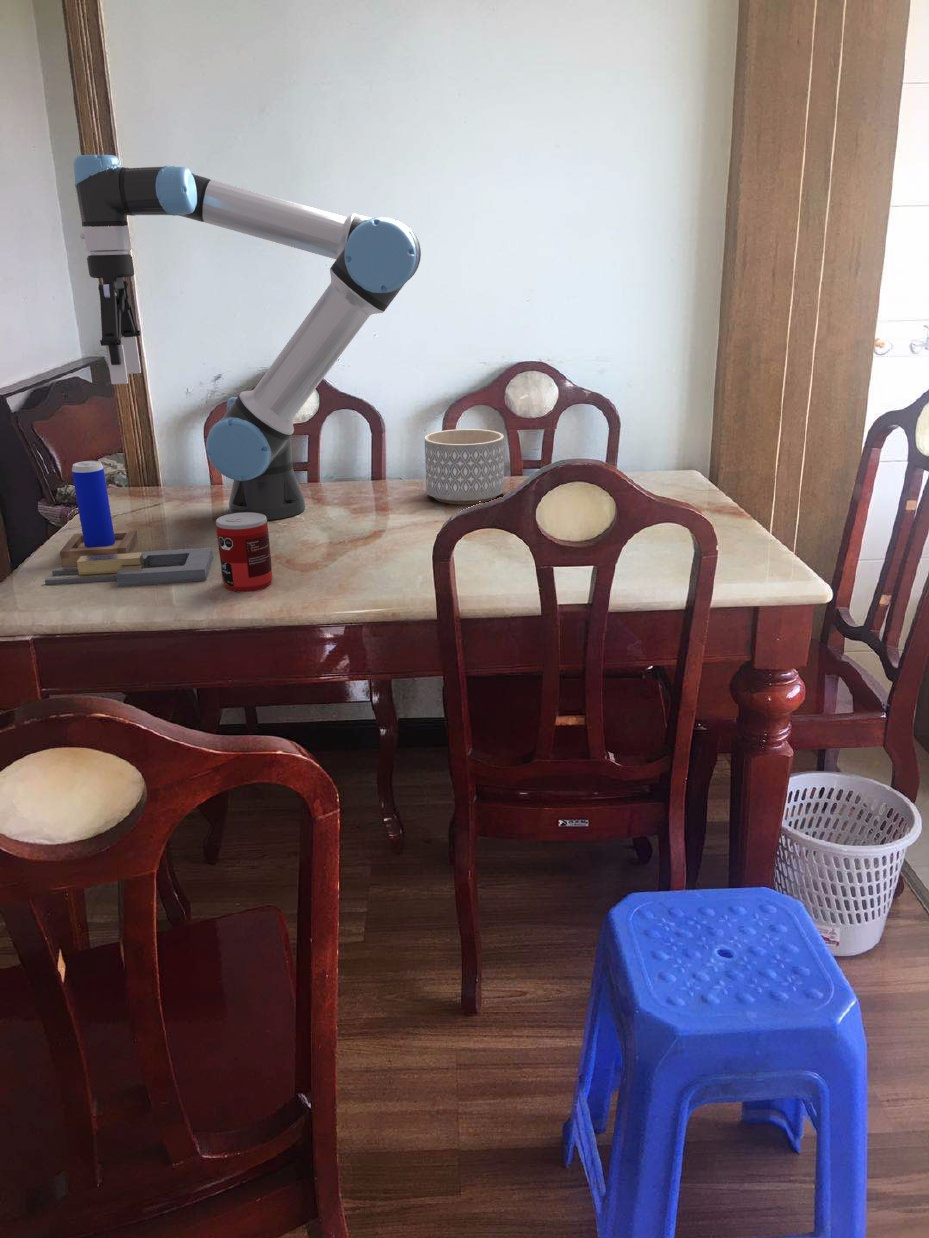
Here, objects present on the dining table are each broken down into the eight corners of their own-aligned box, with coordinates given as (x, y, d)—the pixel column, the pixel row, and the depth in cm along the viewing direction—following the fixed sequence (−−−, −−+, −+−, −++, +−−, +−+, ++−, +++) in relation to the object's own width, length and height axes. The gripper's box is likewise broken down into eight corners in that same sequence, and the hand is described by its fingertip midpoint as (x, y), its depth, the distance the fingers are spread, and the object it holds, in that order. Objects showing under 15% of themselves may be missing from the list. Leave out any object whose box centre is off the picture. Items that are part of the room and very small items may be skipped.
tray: (138, 544, 183) (136, 530, 182) (128, 562, 173) (125, 547, 172) (76, 547, 182) (74, 533, 181) (62, 566, 171) (59, 551, 170)
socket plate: (213, 558, 174) (211, 547, 173) (205, 580, 163) (204, 569, 162) (58, 567, 171) (56, 556, 170) (40, 591, 160) (38, 579, 159)
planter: (457, 483, 221) (455, 426, 216) (519, 493, 212) (519, 433, 207) (410, 499, 209) (408, 439, 204) (474, 510, 200) (473, 447, 195)
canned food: (226, 577, 164) (218, 513, 160) (275, 575, 165) (269, 511, 161) (219, 593, 157) (211, 526, 153) (270, 591, 158) (264, 524, 154)
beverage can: (122, 544, 178) (109, 461, 172) (101, 552, 173) (87, 468, 168) (99, 541, 180) (86, 459, 174) (78, 549, 175) (64, 465, 170)
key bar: (144, 569, 168) (142, 552, 167) (141, 575, 166) (139, 557, 165) (83, 573, 167) (80, 556, 166) (79, 579, 165) (76, 561, 163)
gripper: (101, 252, 184) (118, 370, 191) (69, 255, 160) (90, 389, 168) (143, 251, 184) (158, 368, 192) (117, 254, 161) (136, 387, 169)
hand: (127, 378), depth 180 cm, fingers open, 13 cm apart
